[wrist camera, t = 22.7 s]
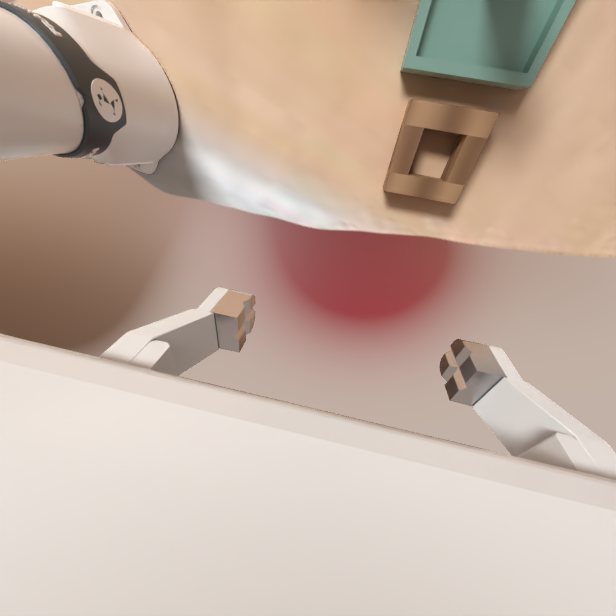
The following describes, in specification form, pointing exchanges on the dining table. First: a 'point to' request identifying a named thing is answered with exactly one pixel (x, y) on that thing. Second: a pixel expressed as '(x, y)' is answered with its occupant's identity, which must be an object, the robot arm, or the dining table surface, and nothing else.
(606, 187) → the dining table surface
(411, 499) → the robot arm
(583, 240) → the dining table surface
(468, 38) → the tray
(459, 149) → the socket block
